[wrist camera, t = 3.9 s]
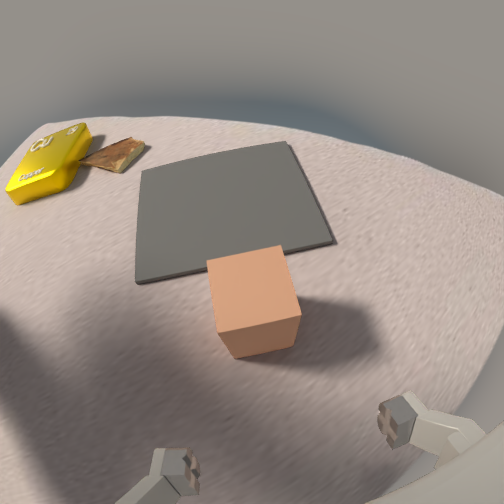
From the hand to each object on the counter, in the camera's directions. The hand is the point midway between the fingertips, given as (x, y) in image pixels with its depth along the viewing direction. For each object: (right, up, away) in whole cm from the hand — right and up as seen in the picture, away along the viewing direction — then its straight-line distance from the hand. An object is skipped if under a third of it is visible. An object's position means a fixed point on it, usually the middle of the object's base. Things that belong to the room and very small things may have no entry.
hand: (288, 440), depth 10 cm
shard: (-23, +21, +30) cm, 43 cm away
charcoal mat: (-5, +13, +22) cm, 27 cm away
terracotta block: (-1, +1, +15) cm, 15 cm away
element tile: (-38, +23, +32) cm, 54 cm away
